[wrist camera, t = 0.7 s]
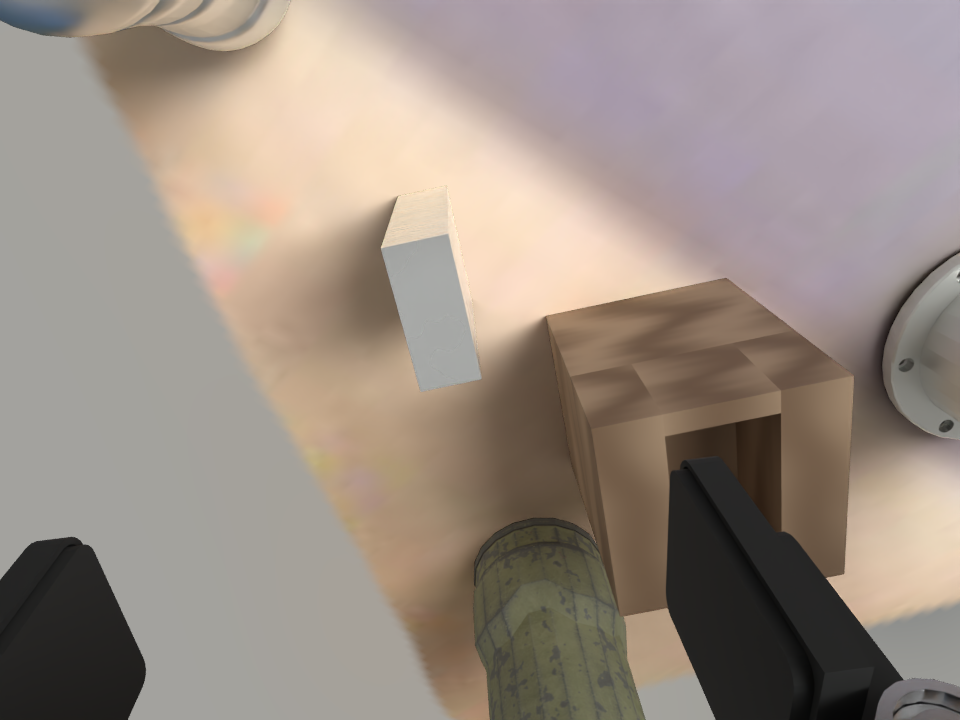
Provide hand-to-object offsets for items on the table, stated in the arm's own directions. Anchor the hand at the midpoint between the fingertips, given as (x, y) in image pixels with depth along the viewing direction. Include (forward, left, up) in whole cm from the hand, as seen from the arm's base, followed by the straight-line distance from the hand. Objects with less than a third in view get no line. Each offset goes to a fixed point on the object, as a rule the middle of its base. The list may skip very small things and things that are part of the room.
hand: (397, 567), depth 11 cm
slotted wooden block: (-10, +11, -25) cm, 29 cm away
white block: (0, +1, -25) cm, 25 cm away
